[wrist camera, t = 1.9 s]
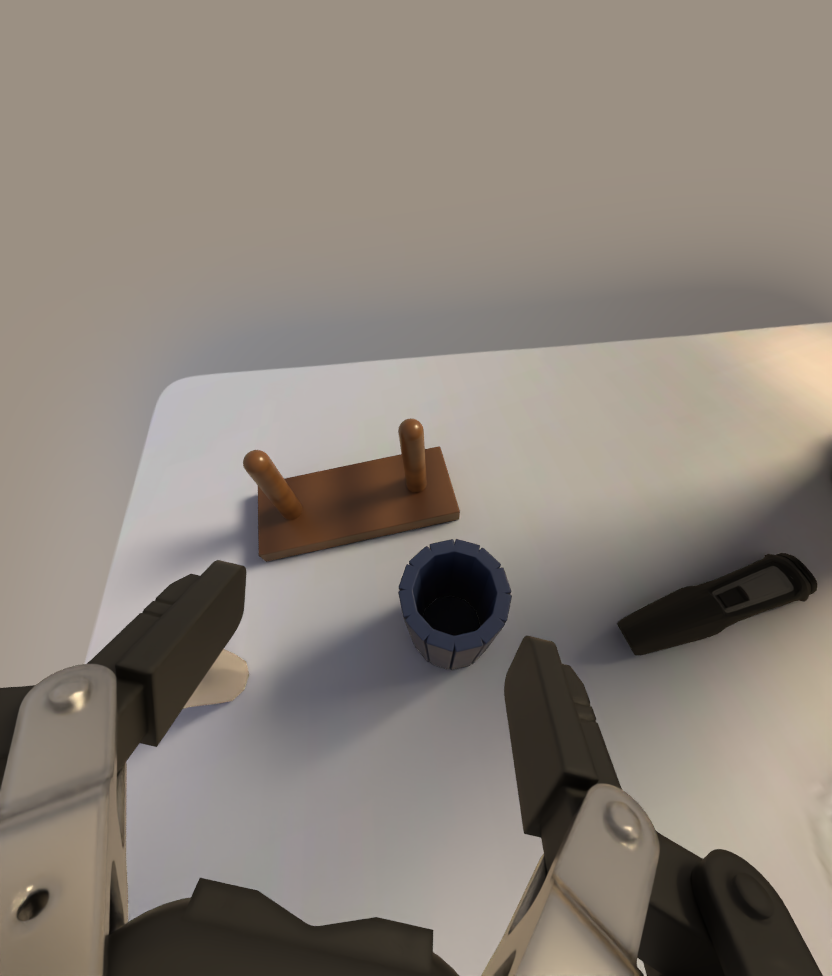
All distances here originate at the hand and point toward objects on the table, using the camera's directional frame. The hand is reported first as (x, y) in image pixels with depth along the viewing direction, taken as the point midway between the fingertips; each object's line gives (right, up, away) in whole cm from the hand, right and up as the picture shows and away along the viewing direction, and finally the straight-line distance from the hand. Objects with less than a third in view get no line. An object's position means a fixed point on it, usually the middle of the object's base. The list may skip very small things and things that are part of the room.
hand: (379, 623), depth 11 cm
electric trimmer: (+23, -5, +19) cm, 30 cm away
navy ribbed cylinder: (+4, -7, +19) cm, 20 cm away
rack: (-4, +2, +24) cm, 25 cm away
